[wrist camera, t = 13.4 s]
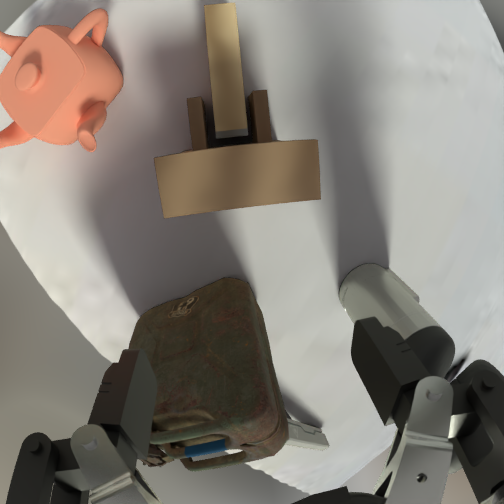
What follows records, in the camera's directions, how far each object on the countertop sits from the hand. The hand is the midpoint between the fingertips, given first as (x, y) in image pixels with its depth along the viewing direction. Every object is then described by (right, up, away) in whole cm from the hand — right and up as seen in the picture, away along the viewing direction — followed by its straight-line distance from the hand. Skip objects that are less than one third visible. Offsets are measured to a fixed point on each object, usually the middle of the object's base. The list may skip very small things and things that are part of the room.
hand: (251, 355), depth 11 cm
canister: (-8, -6, +35) cm, 36 cm away
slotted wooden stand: (-3, +18, +25) cm, 31 cm away
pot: (-25, +26, +20) cm, 41 cm away
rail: (-3, +26, +21) cm, 34 cm away
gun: (+10, -33, +48) cm, 59 cm away
